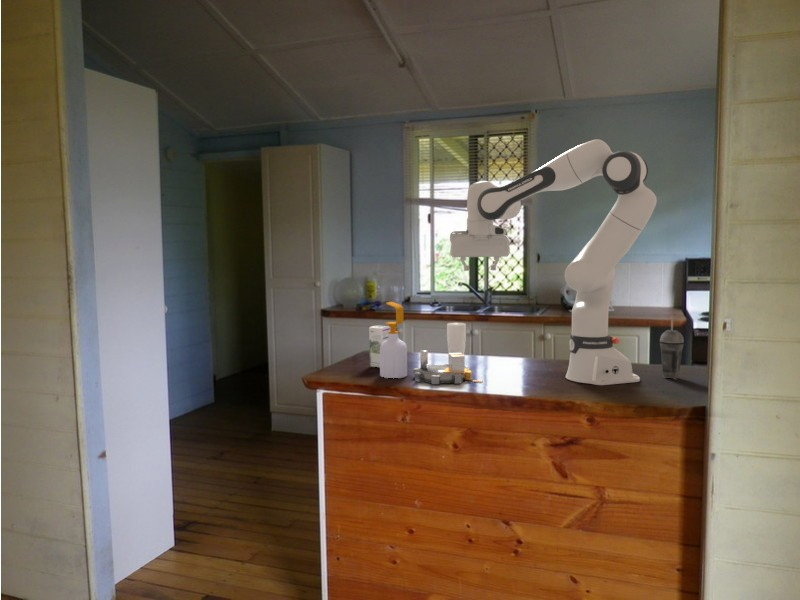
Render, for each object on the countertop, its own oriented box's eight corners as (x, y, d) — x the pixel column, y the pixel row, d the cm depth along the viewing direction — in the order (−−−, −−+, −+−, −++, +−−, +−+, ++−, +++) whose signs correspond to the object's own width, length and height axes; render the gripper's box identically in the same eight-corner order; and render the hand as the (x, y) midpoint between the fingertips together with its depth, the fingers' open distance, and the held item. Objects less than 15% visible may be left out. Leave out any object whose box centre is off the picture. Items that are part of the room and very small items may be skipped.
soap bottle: (389, 372, 210) (388, 300, 208) (412, 374, 206) (411, 301, 203) (374, 377, 203) (373, 303, 200) (398, 380, 198) (397, 304, 196)
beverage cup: (658, 379, 195) (660, 316, 193) (657, 374, 201) (659, 314, 199) (684, 381, 192) (686, 317, 190) (682, 376, 199) (684, 314, 197)
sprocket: (421, 370, 211) (421, 345, 210) (476, 373, 205) (476, 347, 205) (406, 382, 193) (405, 355, 192) (465, 386, 187) (465, 358, 187)
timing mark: (472, 381, 195) (472, 380, 195) (473, 381, 196) (473, 380, 196) (481, 382, 193) (481, 381, 193) (482, 381, 194) (482, 380, 194)
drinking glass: (466, 363, 223) (465, 322, 222) (466, 367, 216) (466, 325, 215) (447, 363, 224) (447, 322, 222) (446, 367, 217) (446, 325, 215)
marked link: (460, 367, 201) (460, 352, 201) (464, 371, 195) (464, 355, 195) (448, 368, 201) (448, 352, 200) (452, 372, 195) (452, 356, 194)
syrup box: (391, 365, 221) (391, 325, 219) (382, 368, 216) (381, 327, 214) (378, 364, 224) (377, 324, 222) (369, 367, 219) (368, 326, 217)
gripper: (451, 230, 206) (451, 271, 207) (511, 229, 208) (511, 270, 210) (448, 230, 212) (448, 270, 213) (505, 229, 214) (505, 269, 216)
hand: (479, 270), depth 211 cm, fingers open, 8 cm apart
